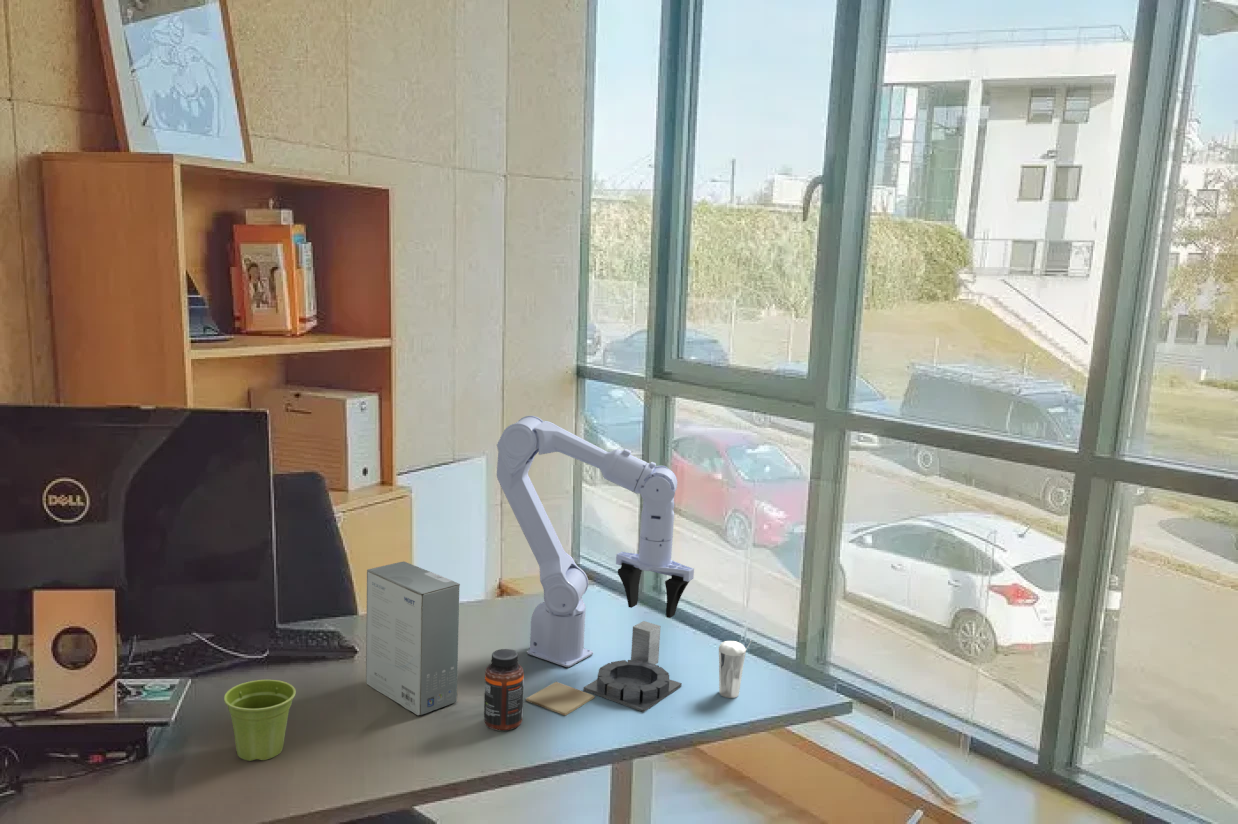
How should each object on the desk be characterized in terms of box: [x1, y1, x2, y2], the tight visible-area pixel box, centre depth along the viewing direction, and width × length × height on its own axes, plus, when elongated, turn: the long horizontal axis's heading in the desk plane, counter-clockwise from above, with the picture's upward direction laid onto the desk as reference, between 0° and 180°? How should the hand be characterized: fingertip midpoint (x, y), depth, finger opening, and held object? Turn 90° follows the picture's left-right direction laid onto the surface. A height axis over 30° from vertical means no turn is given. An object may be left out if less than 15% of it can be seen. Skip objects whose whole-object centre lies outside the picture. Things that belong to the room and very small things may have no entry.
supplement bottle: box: [483, 648, 525, 732], centre depth 146 cm, size 6×6×11 cm
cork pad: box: [525, 681, 596, 716], centre depth 156 cm, size 8×8×1 cm
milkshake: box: [718, 639, 753, 699], centre depth 160 cm, size 4×5×10 cm
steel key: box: [630, 620, 661, 665], centre depth 171 cm, size 4×4×7 cm
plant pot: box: [223, 679, 297, 762], centre depth 135 cm, size 9×9×9 cm
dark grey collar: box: [582, 659, 683, 713], centre depth 161 cm, size 12×12×2 cm
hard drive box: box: [365, 560, 461, 716], centre depth 154 cm, size 16×8×20 cm, turn 47°
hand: (651, 610), depth 169 cm, fingers open, 7 cm apart
